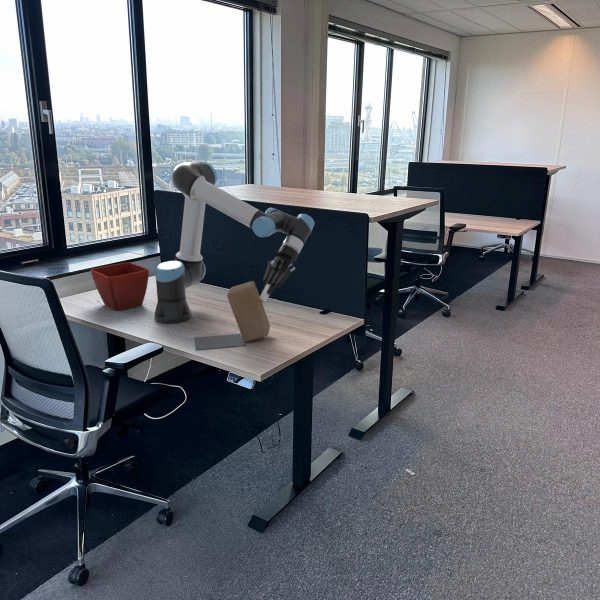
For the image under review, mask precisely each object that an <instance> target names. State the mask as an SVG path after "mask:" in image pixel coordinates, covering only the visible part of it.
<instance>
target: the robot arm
mask: <svg viewBox="0 0 600 600" xmlns="http://www.w3.org/2000/svg"><path fill="white" fill-rule="evenodd" d="M217 176H218V175H217V171H216V169H215V167H214V166H213V165H212V164H211V163H210V162H207V161H203V160H195V161H188V162H187V161H186V162H182V163H179V164H178V165H176V166H175V168H173V171H172V174H171V179H172V183H173V186H174V187H175V188H176V190H177V191H179V192H180V193H182V195H183V196H184V205H183V216H182V217H183V218H182V225H181V226H182V227H181V236H180V246H179V251H177V253H175V260H168V261H164V262H161V263H159V264H158V265H157V266H156V267H155V276H154V277H155V284H156V295H157V304H156V307H155V311H154V320H155V321H156V320H157V321H159V322H158V323H160V322H164V323H163V324H179V323H183V322H187V321H189V320H191V318H192V311H191V308H190V306H189V303H188V301H187V294H186V293H187V292H186V291H187V290H186V289H188V288H189V287H191V286H194V285H197V284H198V283H199V282H200V281H202V280H203V279H204V277H205V275H206V269H207V268H206V264H205V263H204V261H203V259H204V257H203V256H202V254H201V248H202V247H201V246H202V239H203V237H202V236H203V228H204V221H205V211H206V204H207V205H209V206H211V207H212V208H214V209H216V210H217V211H219V212H221V213H223V214H225V215H226V216H228V217H230V218H232V219H234V220H235V221H237V222H239V223H241V224H242V225H245V226H246V227H248V228H250V229H252V231H253V233H254V235H256V237H259V238H267V237H270V236H272V235H273V234H275V233H277V232H281V233H283V234H286V236H285V239H284V240H283V242H282V243H281V244H282V245H281V246H280V247H279V250H278V251H277V256H276V257H275V258H274V259H273V260H269V259H268V260H267V267H266V269H265V272H264V275H263V279H262V282H263V283H264V286H263V288H262V290H261V294H259V295H260V297H259V299H260V300H261V301H262V303H263V304H264V303H267V300H268V298H269V297H270V296H271V295H272V294H273V292H274V290H275V289H277V288H278V289H280V288H281V287H282V285H283V284H285V282H286V281H287V280H288V278H289V277H290V276H291V275H292V274H293V273H295V271H296V270H297V268H296V267H295V266H294V263H295V262H296V261H297V259H298V256H299V254H300V253H301V251H302V249H303V247H304V245H305V243H306V241H307V240H308V238H309V236H310V235H311V234H312V231H313V228H314V227H315V220H314V219H313V218H312V217H311V216H310V215H308V214H307V213H300V214H298V215H297V216H293V215H290V214H288V213H286V212H283V211H282V210H280V209H277V208H273V207H269V208H267V209H266V210H265V212H263V211H262V210H260V209H258V208H256V207H254V206H253V205H251V204H249V203H248V202H245V201H244V200H242V199H240V198H238V197H236V196H234V195H233V194H230V193H229V192H227V191H225V190H223V189H222V188H219V186H216V183H217V181H218V180H217V179H218V177H217ZM157 321H156V322H157ZM178 322H179V323H178Z"/></svg>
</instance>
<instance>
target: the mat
mask: <svg viewBox="0 0 600 600" xmlns="http://www.w3.org/2000/svg"><path fill="white" fill-rule="evenodd" d="M194 341H195V342H194ZM193 342H194V346H195V351H204V350H214V349H215V350H216V349H227V348H237V347H246V342H245V341H244V340H243V338H242V335H241V332H240V333H232V334H231V333H230V334H220V335H219V334H218V335H207V336H197V337H193Z"/></svg>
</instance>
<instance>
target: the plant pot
mask: <svg viewBox="0 0 600 600" xmlns="http://www.w3.org/2000/svg"><path fill="white" fill-rule="evenodd" d="M90 273H91V276H92V277H91V278H92V279H93V282H94V285H95V288H96V289H97V292H98V294H99V297H100V298H101V301H102V302H103V305H105V306H106V307H108V306H109V307H108V308H111V309H113V310H115V311H122V310H126V309H129V308H134V307H137V306H142V305H143V304H144V300H145V297H146V294H147V288H148V282H149V274H150V270H149V268H146V267H143V266H140V265H138V264H136V263H132V262H131V261H130V262H122V263H116V264H112V265H105V266H100V267H95V268H91V269H90Z"/></svg>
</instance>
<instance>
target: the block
mask: <svg viewBox="0 0 600 600" xmlns="http://www.w3.org/2000/svg"><path fill="white" fill-rule="evenodd" d="M256 284H257V283H256V282H255V281H253V280H252V281H248V282H245V283H241V284H238V285H235V286H232V287H230V288H229V290H228V292H227V295H226V297H227V300H228V302H229V305H230V308H231V310H232V313H233V317H234V319H235V321H236V325H237V327H238V329H239V332H240V333H241V336H242V338H243V341H244V343H247V342H251V341H255V340H259V339H261V338H264V337H267V336H269V333H270V329H271V324H270V322H269V318H268V315H267V312H266V311H265V307H264V305H263V304H264V303H263V302H262V301H261V300H260V299H259V297H260V295H261V294H260V293H259V291H258V287H257V285H256Z"/></svg>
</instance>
